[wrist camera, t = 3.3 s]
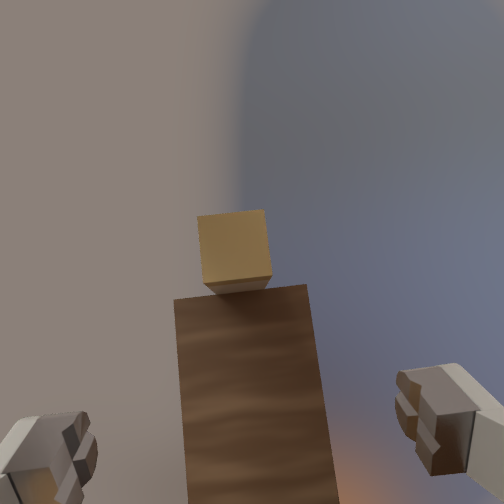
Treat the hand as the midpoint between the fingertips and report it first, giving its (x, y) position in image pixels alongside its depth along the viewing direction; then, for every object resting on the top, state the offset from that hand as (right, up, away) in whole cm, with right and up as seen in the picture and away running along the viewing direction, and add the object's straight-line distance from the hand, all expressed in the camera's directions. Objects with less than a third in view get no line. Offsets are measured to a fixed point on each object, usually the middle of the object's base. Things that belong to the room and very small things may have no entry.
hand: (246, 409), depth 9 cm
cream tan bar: (-1, +1, +18) cm, 18 cm away
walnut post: (+2, -26, +18) cm, 32 cm away
